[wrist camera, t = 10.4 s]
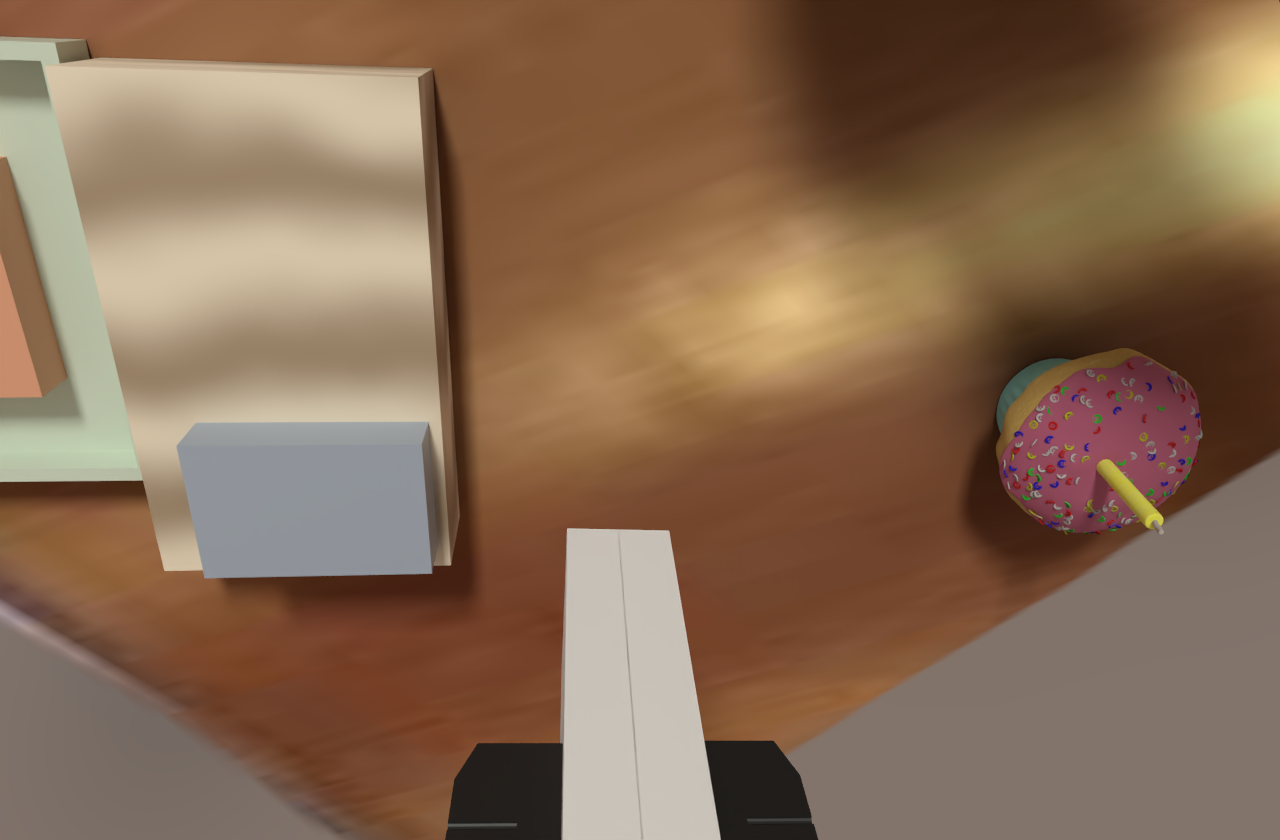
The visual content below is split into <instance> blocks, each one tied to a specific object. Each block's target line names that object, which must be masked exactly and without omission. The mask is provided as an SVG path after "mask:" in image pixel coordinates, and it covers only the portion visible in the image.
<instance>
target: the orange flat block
mask: <svg viewBox="0 0 1280 840" xmlns="http://www.w3.org/2000/svg"><path fill="white" fill-rule="evenodd" d="M66 378H67V374H66V371H65V367H64V364H63V360H62V356H61V353H60V349H59V346H58V342H57V338H56V335H55V331H54V327H53V324H52V320H51V317H50V313H49V309H48V306H47V302H46V298H45V295H44V291H43V288H42V284H41V280H40V277H39V273H38V270H37V266H36V262H35V259H34V255H33V251H32V248H31V244H30V241H29V237H28V233H27V230H26V226H25V223H24V219H23V215H22V212H21V208H20V204H19V201H18V197H17V194H16V190H15V186H14V183H13V179H12V175H11V172H10V168H9V165H8V161H7V157H2V156H0V398H15V397H43V396H45V395H46V394H47V393H48V392H50V391H51V390H52V389H54V388H55V387H56V386H57V385H59V384H60V383H61V382H62V381H64V380H65V379H66Z"/></svg>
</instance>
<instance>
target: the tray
mask: <svg viewBox="0 0 1280 840" xmlns="http://www.w3.org/2000/svg"><path fill="white" fill-rule="evenodd" d="M88 59H90V58H89V53H88V48H87V44H86V40H84V39H55V38H25V37H0V156H2V157H7V161H8V165H9V168H10V172H11V175H12V179H13V183H14V186H15V190H16V194H17V197H18V201H19V204H20V208H21V212H22V215H23V219H24V223H25V226H26V230H27V233H28V237H29V241H30V244H31V248H32V251H33V255H34V259H35V262H36V266H37V270H38V273H39V277H40V280H41V284H42V288H43V291H44V295H45V298H46V302H47V306H48V309H49V313H50V317H51V320H52V324H53V327H54V331H55V335H56V338H57V342H58V346H59V349H60V353H61V356H62V360H63V364H64V367H65V371H66V374H67V378H66V379H65V380H64V381H62V382H61V383H60V384H59V385H57V386H56V387H55V388H54V389H52V390H51V391H50V392H48V393H47V394H46V395H45V396H43V397H15V398H0V482H38V481H139V480H143V478H142V474H141V470H140V466H139V462H138V457H137V453H136V449H135V445H134V441H133V436H132V432H131V428H130V424H129V420H128V415H127V411H126V407H125V403H124V398H123V394H122V390H121V386H120V382H119V377H118V373H117V369H116V365H115V361H114V356H113V352H112V348H111V344H110V340H109V335H108V331H107V327H106V323H105V319H104V314H103V310H102V306H101V302H100V298H99V293H98V289H97V285H96V281H95V277H94V272H93V268H92V264H91V260H90V255H89V251H88V247H87V243H86V239H85V234H84V230H83V226H82V222H81V218H80V213H79V209H78V205H77V201H76V197H75V192H74V188H73V184H72V180H71V176H70V171H69V167H68V163H67V159H66V155H65V150H64V146H63V142H62V138H61V133H60V129H59V125H58V121H57V117H56V112H55V108H54V104H53V100H52V96H51V91H50V87H49V83H48V79H47V75H46V70H45V66H47V65H53V64H60V63H67V62H74V61H81V60H88Z"/></svg>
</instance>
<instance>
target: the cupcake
mask: <svg viewBox="0 0 1280 840" xmlns="http://www.w3.org/2000/svg"><path fill="white" fill-rule="evenodd" d="M997 423H998V427H999V430H1000V433H1001V435H1000V438H999V440H998V442H997V445H996V455H997V459H998V463H999V472H1000V478H1001V481H1002V484H1003V485H1004V488H1005V490H1006V492H1007V493H1008V495H1009V496H1010V497H1011V498H1012V499H1013V500H1014V501H1015V502H1016V503H1017V504H1018V505H1019V506H1020V507H1021V508H1022V509H1023V510H1024V511H1025V512H1026V513H1027V514H1029V515H1030V516H1032V517H1033V518H1034V519H1035V520H1037V521H1038V522H1040V523H1041V524H1042V525H1044V524H1045V525H1047V526H1049V527H1051V528H1052V527H1053V528H1055V529H1056V530H1059V531H1060V530H1062V531H1063V532H1064V533H1065V534H1066V535H1067V532H1071V533H1084V534H1086V533H1089V532H1090V533H1094V532H1095V533H1098V534H1101V532H1099V531H1101V530H1108V529H1109V531H1114V530H1117V529H1118V528H1121V527H1122V526H1125V525H1129V524H1132V523H1134V522H1140V521H1141V522H1142V523H1143V524H1144V525H1145V526H1146V527H1147V528H1149V529H1156V531H1157V532H1158V534H1159V535H1163V533H1164V530H1163V528H1162V527H1161V525H1162V524H1163V521H1164V520H1163V517H1162V516H1161V514H1160V513H1159V512H1158V511H1157V510H1156V508H1157V507H1158V506H1160V505H1161V504H1162V503H1163V502H1165V501H1166V500H1167V499H1168V498H1169V497H1170V496H1171V495H1173V494H1174V493H1175V492H1176V490H1177V488H1178V487H1179V486H1180V485H1181V484H1182V483H1184V482H1185V481H1184V480H1186V479H1187V477H1188V476H1189V472H1190V469H1191V466H1194V465H1195V464H1196V462H1197V461H1198V460H1197V459H1196V458H1195V456H1196V452H1197V449H1198V447H1199V444H1200V439H1201V438H1202V430H1201V418H1200V412H1199V406H1198V400H1197V396H1196V393H1195V392H1194V390H1193V388H1192V386H1191V385H1190V384H1189V383H1188V382H1187V381H1186V380H1185V379H1184V378H1182V377H1181V376H1180V375H1178V374H1177V372H1175V371H1172V370H1170V369H1168V368H1167V367H1165V366H1163V365H1162V364H1160V363H1158V362H1156V361H1155V360H1153V359H1151V358H1149V357H1147V356H1145V355H1144V354H1142V353H1140V352H1138V351H1135V350H1133V349H1129V348H1120V349H1115V350H1112V351H1108V352H1102V353H1097V354H1093V355H1089V356H1085V357H1082V358H1078V359H1075V360H1068V359H1062V358H1054V359H1047V360H1042V361H1039V362H1036V363H1034V364H1032V365H1030V366H1028V367H1026V368H1025V369H1023V370H1022V371H1020V372H1019V373H1018V374H1017V375H1015V376H1014V377H1013V378H1012V379H1011V381H1010V382H1009V383H1008V384H1007V386H1006V387H1005V389H1004V390H1003V392H1002V394H1001V396H1000V399H999V402H998V406H997ZM1114 528H1115V529H1114Z"/></svg>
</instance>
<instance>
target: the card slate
mask: <svg viewBox="0 0 1280 840" xmlns="http://www.w3.org/2000/svg"><path fill="white" fill-rule="evenodd" d="M176 447H177V451H178V456H179V461H180V465H181V470H182V475H183V479H184V484H185V489H186V493H187V498H188V503H189V507H190V512H191V517H192V521H193V526H194V531H195V535H196V540H197V545H198V549H199V554H200V559H201V563H202V568H203V573H204V577H205V578H242V577H292V576H343V575H393V574H432V572H433V567H434V562H435V557H436V553H437V548H438V542H437V528H436V515H435V501H434V488H433V475H432V461H431V448H430V434H429V422H220V423H195V424H194V425H193V427H192V428H191V429H190V430H189V431H188V433H187V434H186V435H185V436H184V437H183V439H182V440H181V441H180V442H179V443H178V445H177V446H176Z"/></svg>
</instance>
